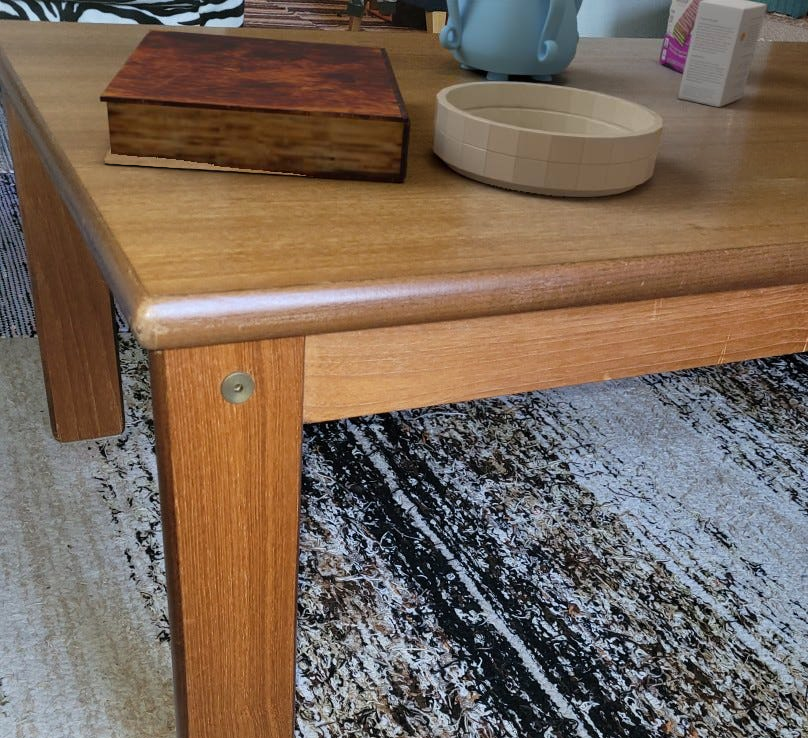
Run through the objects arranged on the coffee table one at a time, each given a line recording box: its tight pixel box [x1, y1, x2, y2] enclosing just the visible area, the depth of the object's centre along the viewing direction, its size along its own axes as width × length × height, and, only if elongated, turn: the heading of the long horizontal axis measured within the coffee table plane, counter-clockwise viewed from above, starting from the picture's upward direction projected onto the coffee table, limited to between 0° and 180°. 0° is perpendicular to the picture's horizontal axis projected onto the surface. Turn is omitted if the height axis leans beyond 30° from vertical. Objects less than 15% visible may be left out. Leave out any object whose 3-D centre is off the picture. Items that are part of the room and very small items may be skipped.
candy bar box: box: [658, 0, 749, 74], centre depth 129 cm, size 11×5×16 cm, turn 17°
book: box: [99, 29, 412, 184], centre depth 90 cm, size 30×24×5 cm
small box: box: [677, 0, 768, 108], centre depth 117 cm, size 8×6×10 cm
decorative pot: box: [438, 0, 584, 82], centre depth 118 cm, size 16×16×14 cm
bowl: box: [431, 80, 664, 198], centre depth 87 cm, size 20×20×5 cm
